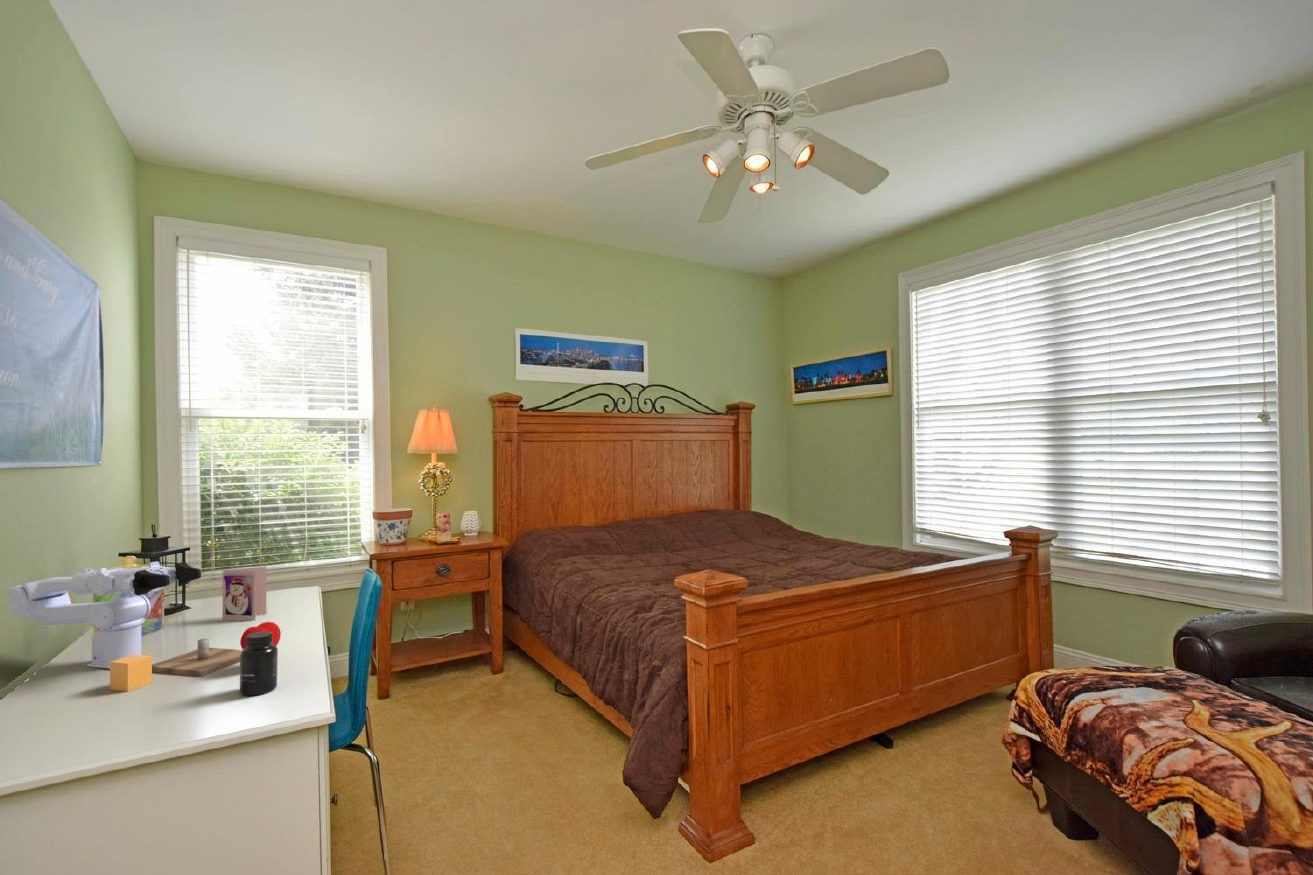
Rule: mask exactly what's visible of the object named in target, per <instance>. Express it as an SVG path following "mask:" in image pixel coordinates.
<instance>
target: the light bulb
mask: <svg viewBox="0 0 1313 875" xmlns="http://www.w3.org/2000/svg"><path fill="white" fill-rule="evenodd" d="M257 632H272V634H273V638H272V639H273V642H272V643H271V644H274V645H275V646H276V647H277V646H278V644H279V643H280V640H281V634H282V633H281V628H280V627H279V625H278V624H276V623H275V622H273V621H265V622H261V623H260V624H258V625H257V626H250V627H248V628H246V629H245V630H244V632H243V633H242V636H241V638H240V647H241V650H244V649H245V648H246V647H247V646H246V636H248V635H249V634H252V633H257Z"/></svg>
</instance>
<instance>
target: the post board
mask: <svg viewBox="0 0 1313 875" xmlns="http://www.w3.org/2000/svg"><path fill="white" fill-rule="evenodd" d="M242 651H243V649H235V648H234V649H232V648H220V647H210V639H209V638H208V637H207V638H200V639H198V640H197V649H195V650H191V651H188V652H185V653H182V654H180V655H177V656H174V657H171V658H168V659H165V660H162V661H159V662H156V663H152V673H153V672H154V673H163V674H172V675H183V676H192V675H193V676H195V677H204V676H208V675H209V674H212V673H215V672H218V671H220V670H222V669H226V668H228V667H230V666H232V665H236V664H238V663H239V664H240V654H241V652H242ZM193 676H192V677H193Z"/></svg>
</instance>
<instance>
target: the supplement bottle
mask: <svg viewBox="0 0 1313 875" xmlns="http://www.w3.org/2000/svg"><path fill="white" fill-rule="evenodd" d="M272 638H273V634H272V632H257V633H252V634H249V635H248V636H246V646H247V647H246V648H245V649H244V650H243V649H242V650H243V651H242V652H241V654H240V662H239V694H240V695H242V696H245V697H257V696H261V695H265V694H268V693H270V692H272V691H274V690H276V688H277V686H278V664H279V663H278V662H279V661H278V660H279V659H278V658H279V657H278V654H279V651H278V647H277V646H275V645H274V644H271V643H272V642H273V639H272Z"/></svg>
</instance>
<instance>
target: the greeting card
mask: <svg viewBox="0 0 1313 875" xmlns="http://www.w3.org/2000/svg"><path fill="white" fill-rule="evenodd" d="M261 614H266V615H267V566H259V567H246V568H236V569H235V568H233V569H223V570H222V620H228V619H241V620H240V621H252V620H255V621H256V616H255V615H258V616H262V615H261Z"/></svg>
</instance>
